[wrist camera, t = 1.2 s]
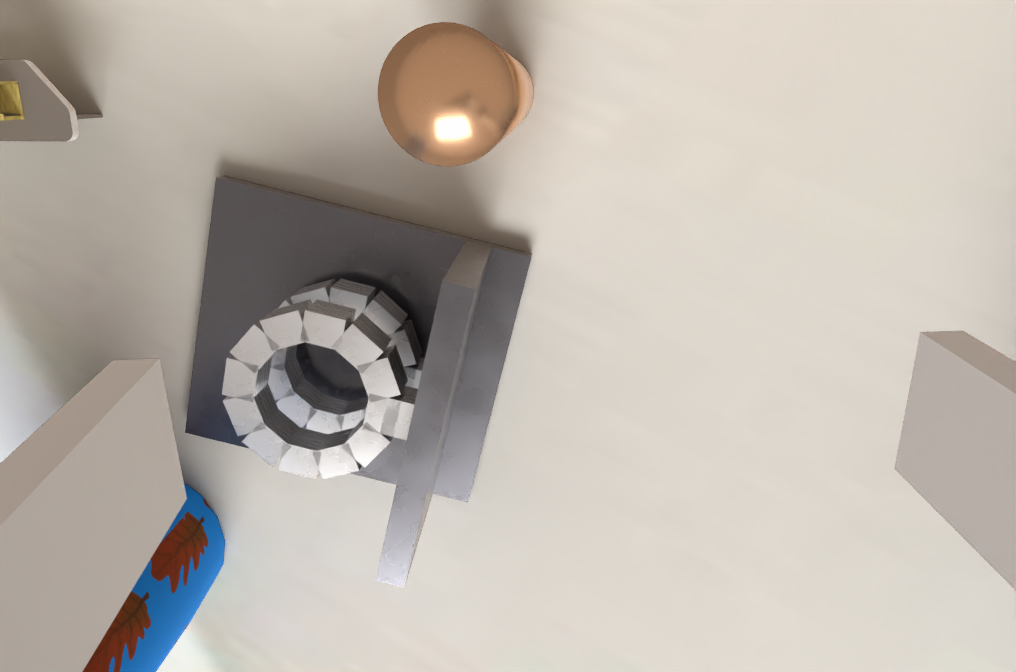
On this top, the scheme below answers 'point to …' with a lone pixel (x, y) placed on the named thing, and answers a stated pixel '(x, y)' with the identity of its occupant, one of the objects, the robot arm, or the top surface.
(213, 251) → the collar stand
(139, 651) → the thermos
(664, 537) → the top surface
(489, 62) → the copper tube
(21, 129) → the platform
